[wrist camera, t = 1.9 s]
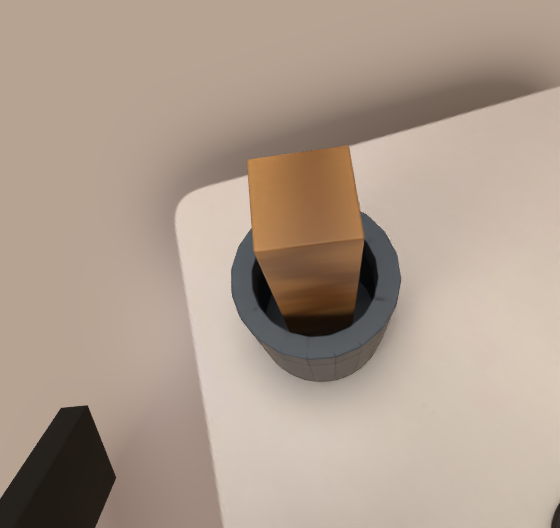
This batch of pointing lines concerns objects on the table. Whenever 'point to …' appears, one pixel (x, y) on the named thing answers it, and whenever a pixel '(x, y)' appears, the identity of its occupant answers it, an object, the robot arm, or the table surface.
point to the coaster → (556, 518)
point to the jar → (330, 348)
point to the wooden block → (308, 236)
